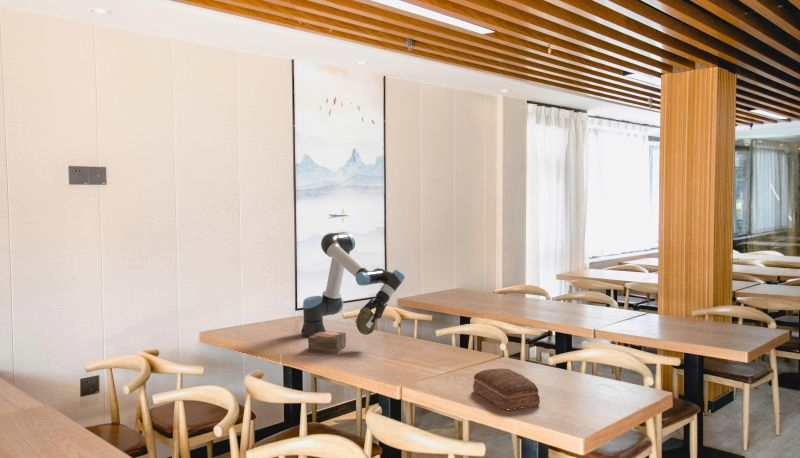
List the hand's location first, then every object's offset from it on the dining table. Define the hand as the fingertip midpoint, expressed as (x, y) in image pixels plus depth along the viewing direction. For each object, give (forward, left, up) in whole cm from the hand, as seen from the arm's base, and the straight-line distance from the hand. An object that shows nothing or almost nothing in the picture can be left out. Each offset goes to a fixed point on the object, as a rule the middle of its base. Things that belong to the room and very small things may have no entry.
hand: (361, 325), depth 350 cm
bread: (+69, +84, -15) cm, 110 cm away
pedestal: (+2, -20, -14) cm, 24 cm away
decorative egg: (-2, +2, -6) cm, 7 cm away
